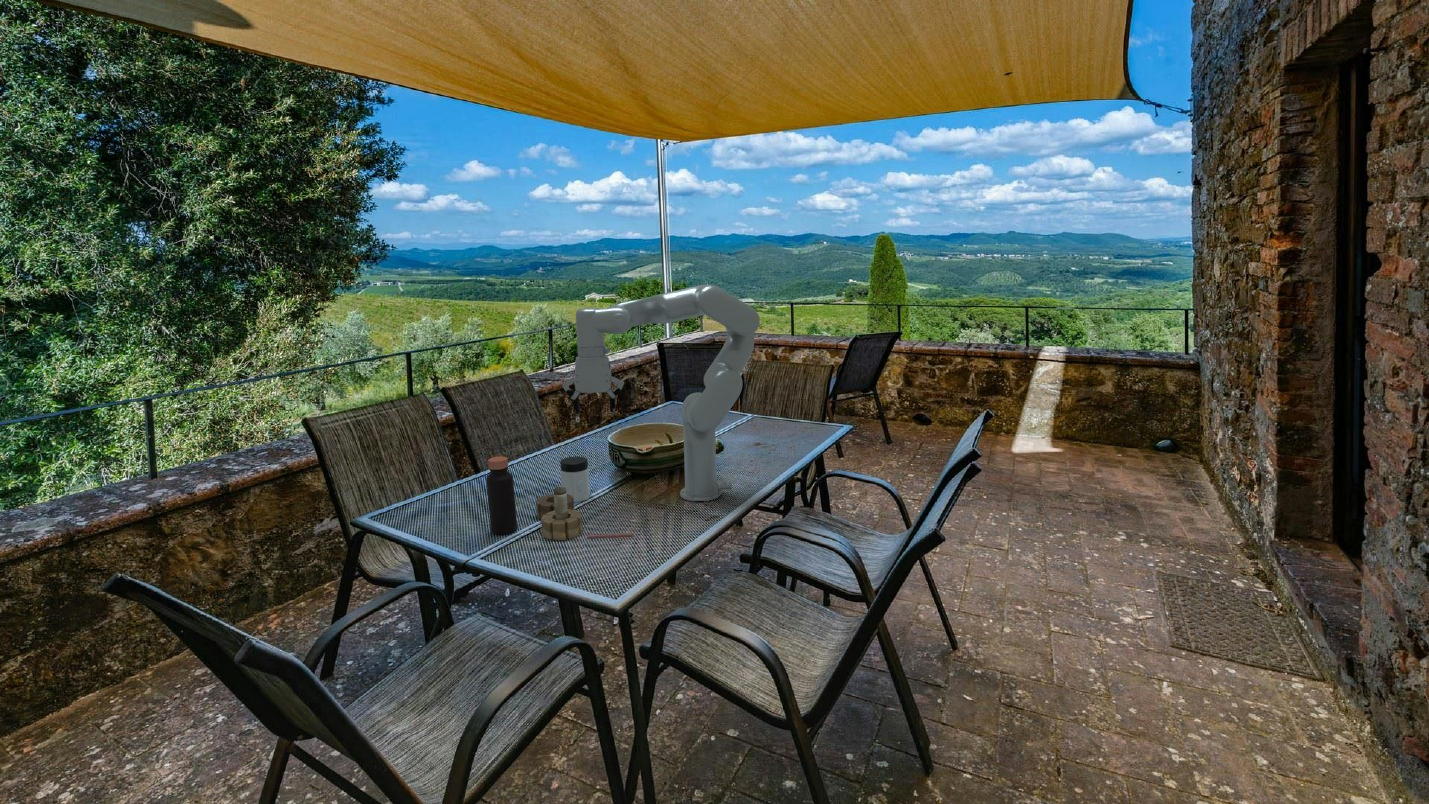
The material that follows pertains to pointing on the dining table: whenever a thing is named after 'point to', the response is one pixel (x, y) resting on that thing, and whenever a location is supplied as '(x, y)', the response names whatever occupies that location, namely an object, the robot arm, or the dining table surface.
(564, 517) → the dowel
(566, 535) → the bead
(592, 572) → the dining table surface
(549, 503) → the bead
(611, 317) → the robot arm
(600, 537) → the reddish brown square stick
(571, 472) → the jar
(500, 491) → the bottle
